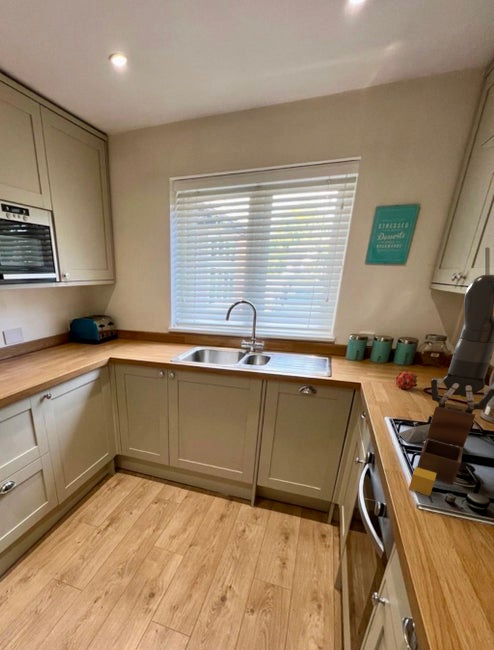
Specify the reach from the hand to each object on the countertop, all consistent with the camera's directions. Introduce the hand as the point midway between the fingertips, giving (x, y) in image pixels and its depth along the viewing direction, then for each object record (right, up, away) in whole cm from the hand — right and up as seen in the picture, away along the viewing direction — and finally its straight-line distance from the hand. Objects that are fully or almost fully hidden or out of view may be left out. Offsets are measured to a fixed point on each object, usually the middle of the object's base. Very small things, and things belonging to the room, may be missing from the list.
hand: (451, 418), depth 90 cm
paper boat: (+2, -8, +17) cm, 19 cm away
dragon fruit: (+31, +11, +66) cm, 73 cm away
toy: (-14, -17, -7) cm, 23 cm away
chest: (-4, -14, 0) cm, 15 cm away
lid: (-3, -2, -2) cm, 4 cm away
